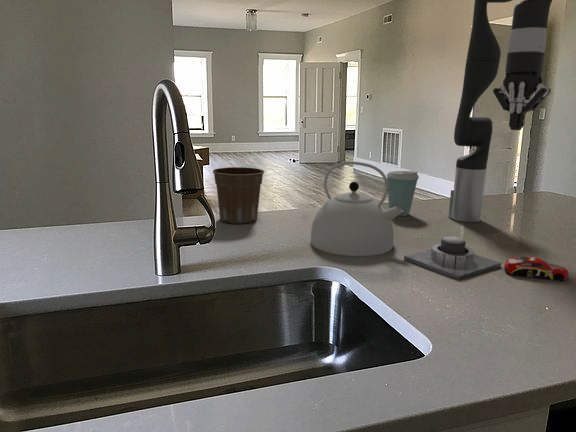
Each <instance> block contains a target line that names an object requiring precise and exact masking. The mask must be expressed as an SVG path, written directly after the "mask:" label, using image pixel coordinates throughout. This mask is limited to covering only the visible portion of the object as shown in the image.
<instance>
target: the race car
mask: <svg viewBox="0 0 576 432" xmlns="http://www.w3.org/2000/svg"><path fill="white" fill-rule="evenodd" d="M503 268H504V270H505V272H506V273H508V274H510V275H514V276H516V277H519V278H520V277H522V278H523V277H528V278H536V279H546V280H553V281H556V282H557V281H559V282H562V281H564V280H567V279H568V278H569V275H570V274H569V271H568V269H567V268H565V267H563V266H561V265H558V264H554V263H549V262H548V261H545V260H543V259H542V258H539V257H534V256H518V257H512V258H511V257H510V258H507V259H506V261H505V262H504V267H503Z"/></svg>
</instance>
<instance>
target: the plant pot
mask: <svg viewBox="0 0 576 432" xmlns="http://www.w3.org/2000/svg"><path fill="white" fill-rule="evenodd" d="M212 173H213V175H214V176H213V177H214V183H215V185H216V194H217V202H218V213H219V220H220V221H221V222H224V223H226V222H227V223H228V224H233V225H234V224H237V225H242V224H243V225H244V224H250V223H252V222H256V221H257V220H258V216H259V215H258V213H259V204H260V194H261V185H262V183H263V175H264V174H265V170H264V169H262V168H255V167H243V166H237V167H235V166H231V167H230V166H229V167H219V168H215V169H213V170H212Z"/></svg>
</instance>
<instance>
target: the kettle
mask: <svg viewBox="0 0 576 432" xmlns="http://www.w3.org/2000/svg"><path fill="white" fill-rule="evenodd" d="M345 165H353V166H363V167H367V168H370V169H372V170H375V171H376V172H378V174H380V176H381V177H382V178H383V181H384V187H385V188H384V193H383V196H382V198H381V200H380V201H379V202H378V200H376V199H375V198H374V197H372V196H369V194H368V195H367V194H364V193H362V192H357V191H359V188H360V184H359V183H358V182H357V181H352V182H350V183H349V186H348V188H349V190H350V192H344V193H343V192H342V193H340V194H337V195H335V196H334V197H332V196H331V194H330V193H329V189H328V185H327V183H328V178H329V175H330V174H331V173H332V172H333V170H335V169H336V168H338V167H342V166H345ZM323 188H324V192H325V195H326V196H327V198H328V200H327V201H326V202H325V203H324V204H322V206H321V207H319V209H318V211H317V212H316V214H315V215H314V218H313V221H312V225H311V228H310V229H311V230H310V232H311V233H310V244H311V246H313V247H314V248H315V249H318V250H319V251H322V252H325V253H328V254H334V255H340V256H350V257H352V256H353V257H367V256H376V255H382V254H385V253H387V252H388V253H389V252H390V251H391V250H392V249H393V248H394V227H393V222H392V220H393V219H394V218H397V217H398V216H399V214H401V213H402V212H403V210H402V209H401V208H399V207H393V208H390V209H389V208H388V209H385V208H384V206H383V204H384V202H385V200H386V199H387V197H388V181H387V175H386V174H385V173H384V172H383V171H382V169H380V168H378V167H377V166H374V165H373V164H369V163H365V162H360V161H343V162H338V163H336V164H334V165H332V166H331V167H330V168H329V169H328V170H327V172H326V173H325V175H324V181H323Z"/></svg>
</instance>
